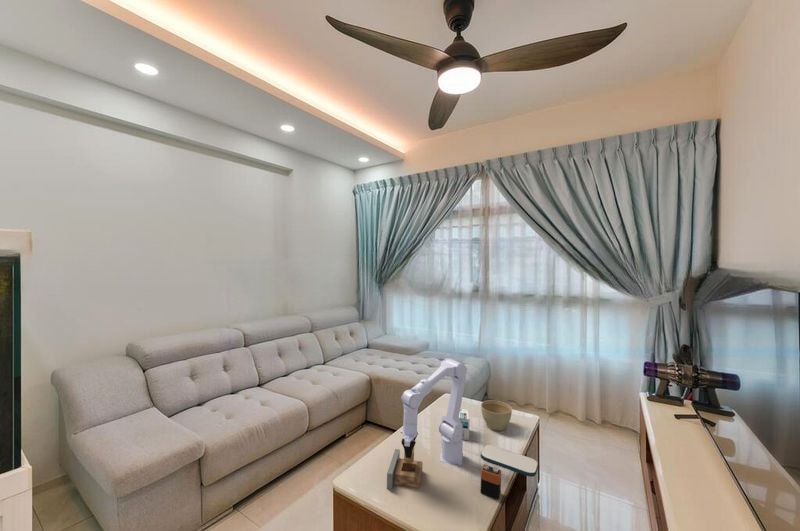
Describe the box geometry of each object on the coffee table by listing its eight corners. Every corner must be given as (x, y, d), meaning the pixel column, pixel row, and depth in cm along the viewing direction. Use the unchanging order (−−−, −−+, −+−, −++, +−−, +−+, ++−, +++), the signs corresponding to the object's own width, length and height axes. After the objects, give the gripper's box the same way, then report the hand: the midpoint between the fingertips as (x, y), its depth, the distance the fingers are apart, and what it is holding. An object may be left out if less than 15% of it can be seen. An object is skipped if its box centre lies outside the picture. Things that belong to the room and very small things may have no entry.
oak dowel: (414, 457, 129) (415, 438, 129) (413, 463, 125) (413, 443, 125) (404, 456, 130) (405, 437, 130) (403, 462, 126) (403, 442, 126)
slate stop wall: (399, 464, 135) (399, 449, 135) (391, 490, 120) (392, 474, 119) (394, 463, 136) (395, 448, 136) (386, 489, 120) (387, 473, 120)
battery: (498, 500, 116) (499, 473, 116) (480, 493, 119) (481, 467, 119) (500, 493, 120) (501, 467, 120) (483, 486, 123) (483, 461, 123)
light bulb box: (469, 440, 155) (469, 419, 155) (455, 438, 156) (456, 417, 156) (468, 429, 165) (469, 409, 165) (455, 427, 167) (456, 407, 167)
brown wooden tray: (422, 471, 130) (422, 461, 130) (419, 488, 121) (419, 477, 121) (398, 467, 132) (399, 458, 132) (394, 483, 122) (394, 473, 122)
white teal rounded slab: (478, 459, 141) (478, 455, 141) (485, 447, 151) (486, 443, 151) (534, 480, 128) (535, 475, 128) (538, 465, 138) (539, 460, 138)
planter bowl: (514, 424, 172) (515, 405, 172) (507, 438, 158) (508, 416, 158) (485, 416, 181) (486, 397, 180) (476, 428, 167) (477, 408, 167)
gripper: (403, 411, 135) (402, 442, 135) (397, 428, 121) (396, 463, 121) (420, 413, 134) (419, 444, 134) (415, 431, 119) (414, 466, 120)
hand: (409, 453), depth 127 cm, fingers closed on oak dowel, 4 cm apart
